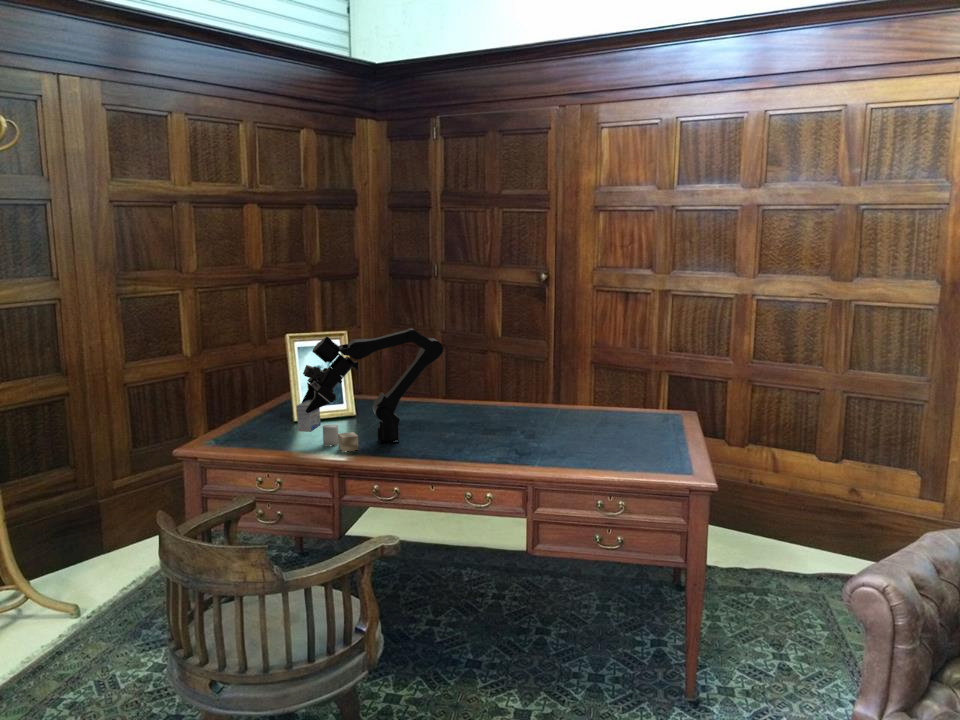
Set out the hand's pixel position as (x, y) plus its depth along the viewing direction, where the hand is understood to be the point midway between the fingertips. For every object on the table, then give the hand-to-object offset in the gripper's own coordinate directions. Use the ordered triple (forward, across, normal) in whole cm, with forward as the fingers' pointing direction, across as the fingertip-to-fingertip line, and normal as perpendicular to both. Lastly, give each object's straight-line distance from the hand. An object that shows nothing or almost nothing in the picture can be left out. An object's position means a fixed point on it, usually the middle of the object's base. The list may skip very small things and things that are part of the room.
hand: (303, 409), depth 254 cm
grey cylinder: (+3, -2, +15) cm, 16 cm away
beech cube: (+1, +7, +18) cm, 19 cm away
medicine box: (+4, 0, +6) cm, 7 cm away
